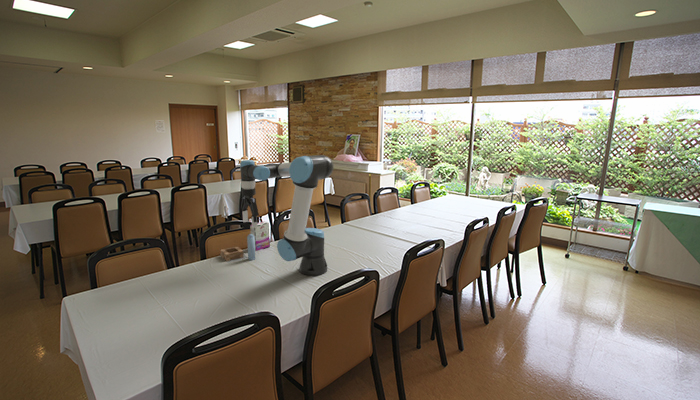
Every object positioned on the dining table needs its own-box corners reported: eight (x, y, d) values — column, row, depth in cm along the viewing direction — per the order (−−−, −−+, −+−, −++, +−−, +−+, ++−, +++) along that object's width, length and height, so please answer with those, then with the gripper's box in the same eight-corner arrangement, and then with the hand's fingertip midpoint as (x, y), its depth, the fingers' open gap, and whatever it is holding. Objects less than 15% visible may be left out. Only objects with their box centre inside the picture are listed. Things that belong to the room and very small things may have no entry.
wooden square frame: (243, 257, 204) (243, 251, 203) (226, 261, 197) (226, 254, 197) (237, 252, 211) (237, 246, 210) (220, 256, 205) (220, 249, 204)
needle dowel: (256, 259, 201) (255, 234, 198) (249, 261, 199) (248, 235, 196) (253, 257, 204) (252, 232, 201) (247, 259, 202) (245, 233, 199)
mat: (248, 258, 203) (248, 257, 203) (227, 262, 196) (227, 262, 196) (239, 251, 214) (239, 250, 214) (219, 255, 207) (219, 255, 207)
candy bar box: (265, 245, 226) (264, 221, 223) (270, 246, 223) (269, 222, 220) (251, 249, 217) (249, 224, 214) (256, 251, 214) (254, 226, 211)
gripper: (264, 190, 185) (265, 228, 190) (246, 184, 205) (248, 218, 209) (250, 192, 181) (252, 231, 185) (233, 185, 200) (235, 220, 205)
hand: (250, 224), depth 197 cm, fingers open, 13 cm apart
